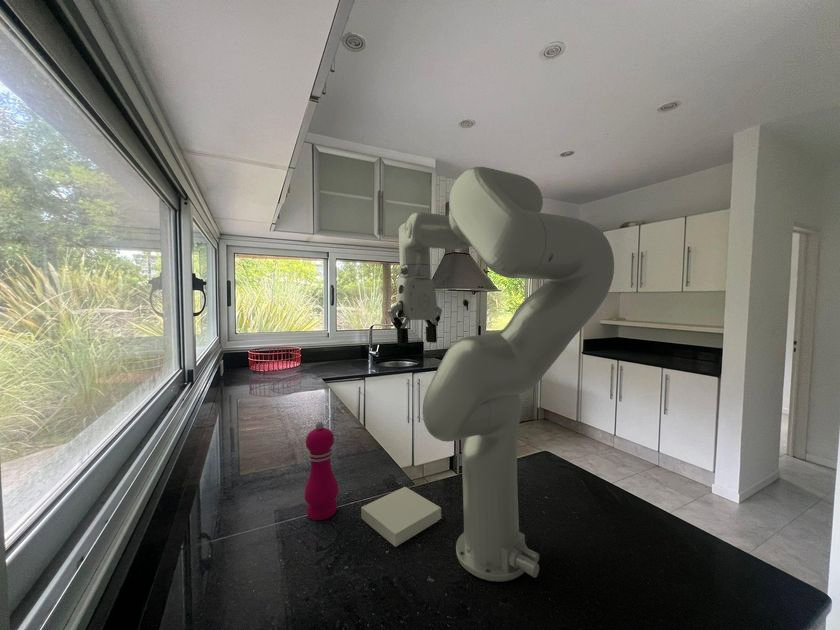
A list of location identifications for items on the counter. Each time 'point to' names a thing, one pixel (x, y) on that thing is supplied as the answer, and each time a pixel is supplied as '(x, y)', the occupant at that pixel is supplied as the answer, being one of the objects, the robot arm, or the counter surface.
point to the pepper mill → (320, 475)
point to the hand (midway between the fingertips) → (417, 343)
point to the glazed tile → (400, 515)
